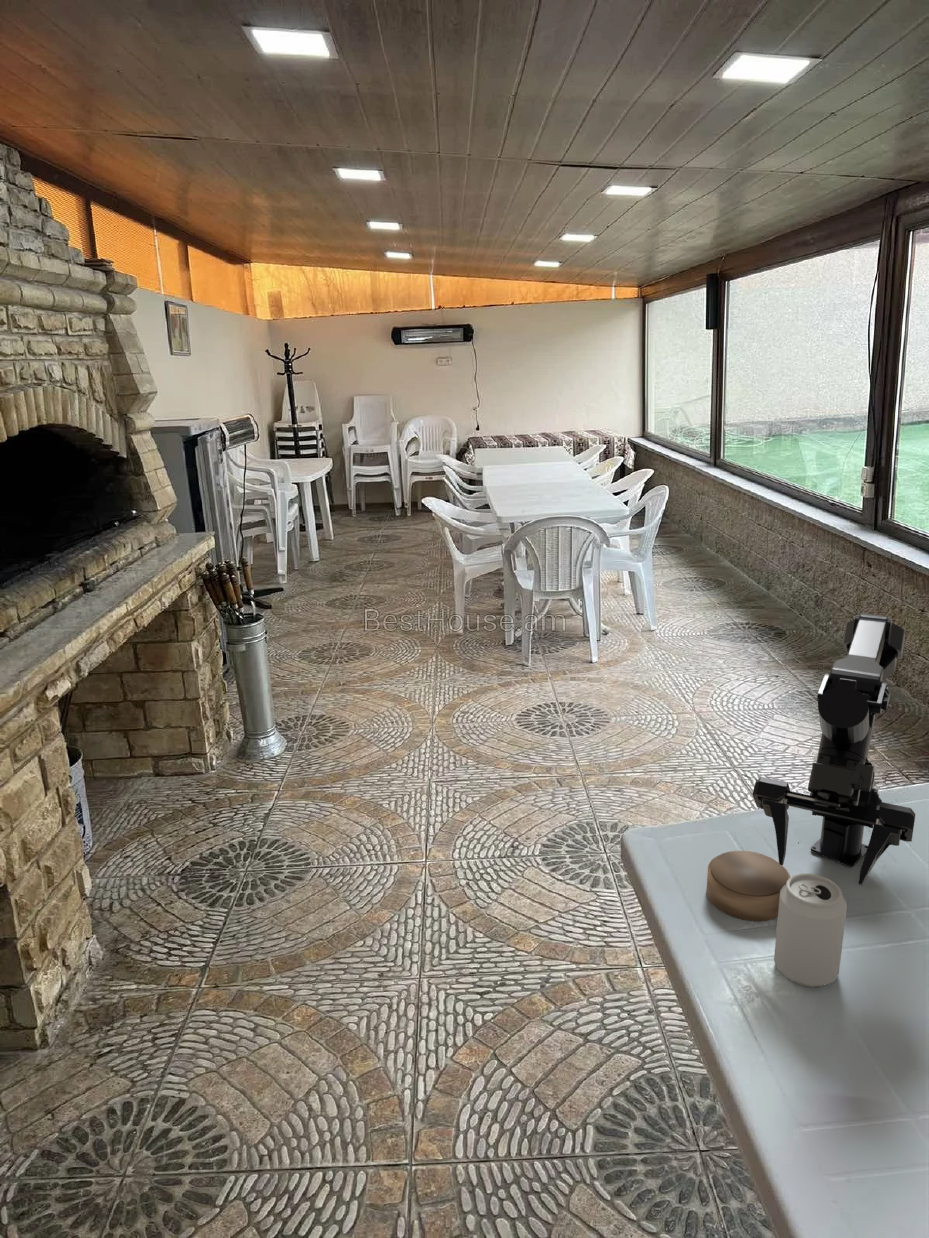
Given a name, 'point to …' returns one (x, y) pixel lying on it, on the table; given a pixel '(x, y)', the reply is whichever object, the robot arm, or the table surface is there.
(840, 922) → the can
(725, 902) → the brown wooden disc
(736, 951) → the table surface
